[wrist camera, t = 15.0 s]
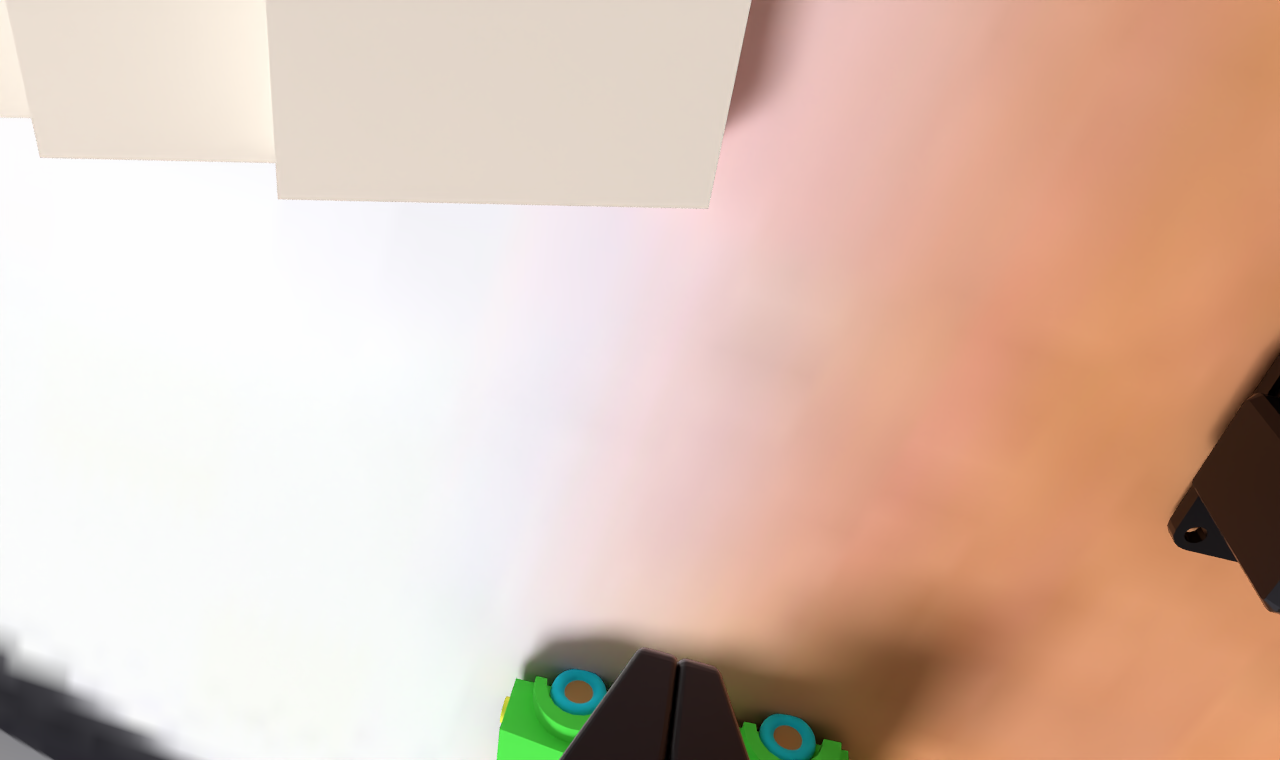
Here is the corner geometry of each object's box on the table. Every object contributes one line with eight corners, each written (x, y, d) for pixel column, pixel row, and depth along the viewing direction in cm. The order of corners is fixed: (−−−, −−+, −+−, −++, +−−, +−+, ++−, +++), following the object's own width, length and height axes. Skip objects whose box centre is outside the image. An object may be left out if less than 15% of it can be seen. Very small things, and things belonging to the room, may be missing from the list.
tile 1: (778, -132, 15) (252, -221, 12) (708, 208, 18) (277, 199, 15) (731, -144, 16) (255, -226, 14) (674, 171, 20) (278, 157, 17)
